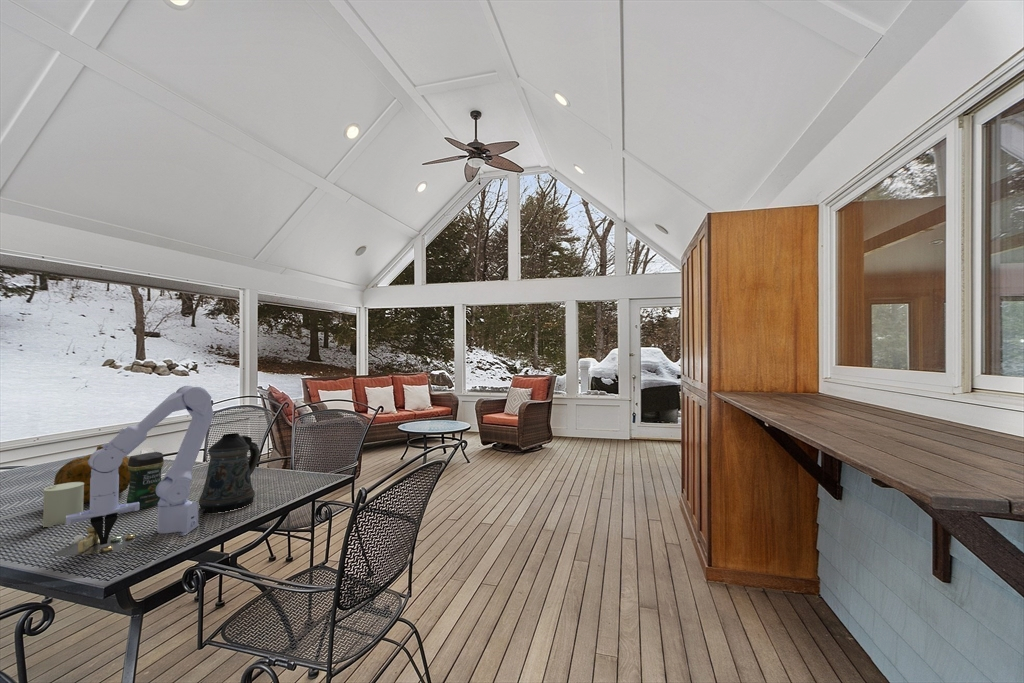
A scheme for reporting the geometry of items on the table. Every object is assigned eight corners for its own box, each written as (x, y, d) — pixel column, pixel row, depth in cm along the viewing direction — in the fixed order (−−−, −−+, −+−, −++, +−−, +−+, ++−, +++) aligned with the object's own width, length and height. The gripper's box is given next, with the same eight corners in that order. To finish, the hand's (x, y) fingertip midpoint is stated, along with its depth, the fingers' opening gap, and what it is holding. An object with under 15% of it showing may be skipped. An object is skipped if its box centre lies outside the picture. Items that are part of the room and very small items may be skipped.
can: (45, 521, 137) (46, 484, 137) (85, 514, 143) (86, 478, 143) (39, 530, 130) (40, 491, 130) (81, 522, 136) (82, 485, 136)
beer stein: (188, 516, 141) (189, 440, 141) (216, 496, 160) (217, 430, 160) (243, 512, 144) (244, 438, 145) (264, 493, 163) (265, 428, 164)
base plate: (144, 539, 124) (144, 528, 124) (116, 556, 113) (116, 544, 113) (81, 543, 121) (82, 531, 121) (47, 561, 111) (47, 548, 111)
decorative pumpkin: (54, 496, 158) (62, 442, 159) (130, 489, 172) (136, 439, 173) (45, 514, 143) (54, 454, 144) (129, 504, 157) (136, 450, 158)
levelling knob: (90, 541, 119) (90, 526, 119) (104, 540, 120) (104, 524, 120) (73, 553, 112) (73, 536, 112) (87, 551, 113) (87, 535, 113)
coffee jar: (133, 512, 145) (134, 457, 145) (122, 508, 148) (123, 455, 149) (167, 503, 153) (167, 451, 154) (156, 499, 157) (156, 449, 157)
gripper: (138, 484, 124) (137, 530, 124) (66, 496, 114) (65, 547, 114) (140, 489, 120) (139, 538, 119) (65, 502, 109) (64, 556, 109)
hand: (103, 543), depth 116 cm, fingers closed
